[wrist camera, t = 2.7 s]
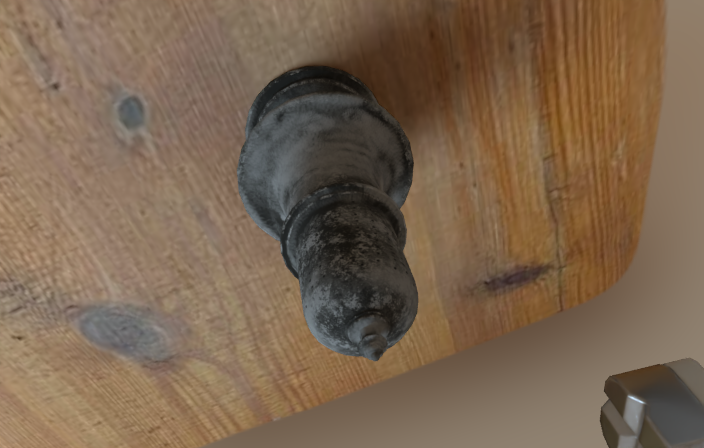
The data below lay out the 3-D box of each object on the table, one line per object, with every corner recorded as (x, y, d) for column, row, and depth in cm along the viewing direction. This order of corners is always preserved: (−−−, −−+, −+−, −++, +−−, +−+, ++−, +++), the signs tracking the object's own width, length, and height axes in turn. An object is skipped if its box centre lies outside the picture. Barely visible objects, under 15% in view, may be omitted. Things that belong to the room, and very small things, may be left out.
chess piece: (385, 45, 22) (513, 220, 11) (396, 187, 25) (503, 421, 15) (221, 71, 21) (206, 276, 11) (253, 212, 24) (265, 471, 14)
